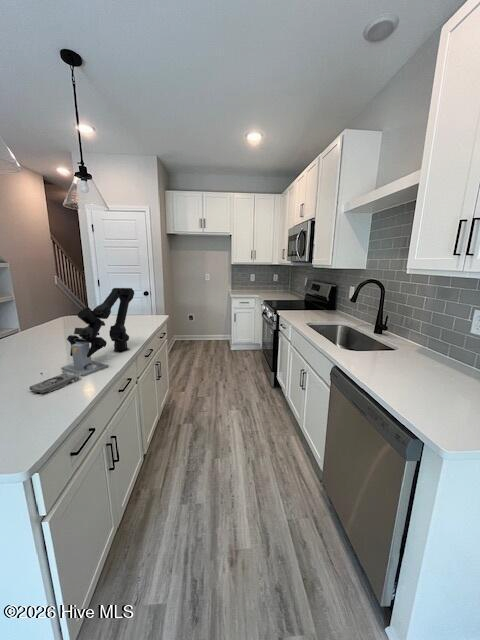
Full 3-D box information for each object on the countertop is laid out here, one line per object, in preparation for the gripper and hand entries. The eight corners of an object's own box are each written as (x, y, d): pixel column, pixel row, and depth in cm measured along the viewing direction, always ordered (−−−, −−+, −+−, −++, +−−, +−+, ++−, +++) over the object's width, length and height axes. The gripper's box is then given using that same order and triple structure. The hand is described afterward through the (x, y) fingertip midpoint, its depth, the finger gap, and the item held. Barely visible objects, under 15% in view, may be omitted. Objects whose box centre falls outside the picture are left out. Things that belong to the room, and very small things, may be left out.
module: (83, 365, 132) (80, 341, 129) (91, 366, 131) (88, 342, 128) (73, 370, 126) (69, 345, 123) (82, 371, 125) (78, 346, 122)
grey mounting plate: (86, 360, 141) (86, 356, 140) (108, 367, 132) (107, 362, 132) (61, 369, 130) (60, 364, 129) (83, 376, 121) (82, 371, 121)
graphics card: (64, 369, 123) (81, 372, 118) (65, 376, 123) (82, 380, 119) (23, 384, 108) (41, 389, 103) (25, 392, 108) (42, 398, 104)
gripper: (67, 319, 129) (50, 347, 121) (100, 321, 126) (85, 350, 117) (81, 330, 138) (67, 357, 130) (112, 332, 135) (99, 360, 127)
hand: (79, 356), depth 126 cm, fingers open, 9 cm apart
